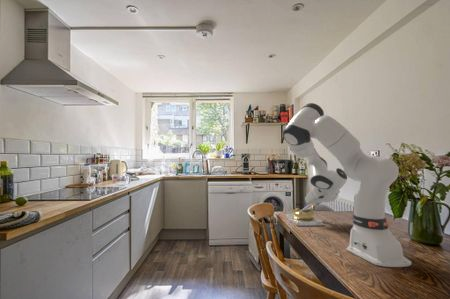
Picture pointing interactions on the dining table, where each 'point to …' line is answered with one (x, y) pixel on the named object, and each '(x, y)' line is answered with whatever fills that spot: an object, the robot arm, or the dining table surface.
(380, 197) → the robot arm
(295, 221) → the cap plate
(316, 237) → the dining table surface
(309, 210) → the ring nut
